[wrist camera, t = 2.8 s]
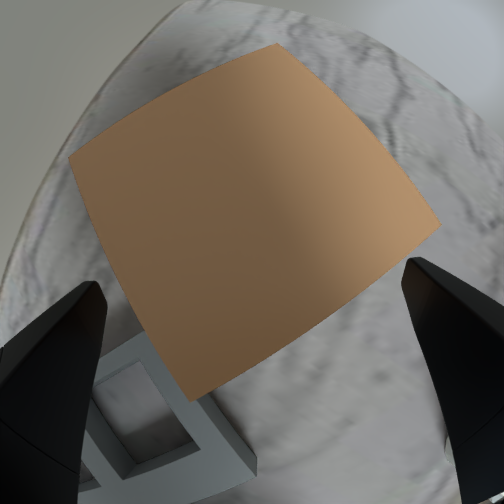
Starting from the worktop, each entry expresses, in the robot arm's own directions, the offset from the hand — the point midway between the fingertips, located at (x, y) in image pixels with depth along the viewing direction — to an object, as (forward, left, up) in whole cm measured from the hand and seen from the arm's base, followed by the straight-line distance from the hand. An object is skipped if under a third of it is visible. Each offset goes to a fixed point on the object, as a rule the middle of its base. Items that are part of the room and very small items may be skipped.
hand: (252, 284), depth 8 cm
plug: (+1, -1, -9) cm, 9 cm away
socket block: (-3, +13, -9) cm, 17 cm away
